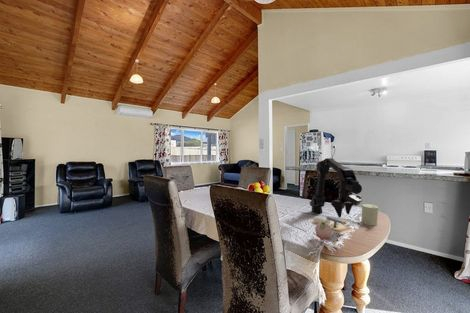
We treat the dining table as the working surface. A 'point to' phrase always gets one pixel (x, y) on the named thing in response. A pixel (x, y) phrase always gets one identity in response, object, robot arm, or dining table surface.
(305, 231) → the mat
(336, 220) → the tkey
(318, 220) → the cover
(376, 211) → the can
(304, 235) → the dining table surface
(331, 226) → the board
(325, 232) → the decorative fruit
